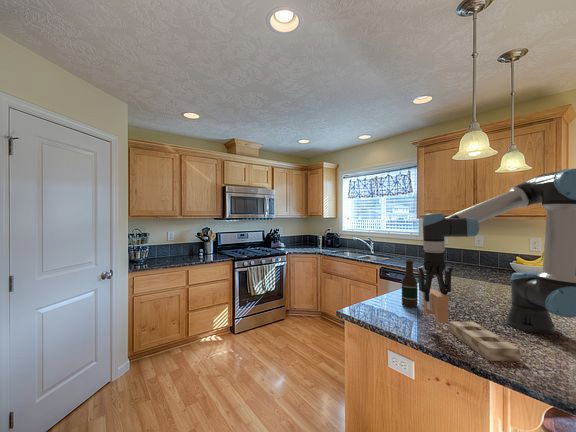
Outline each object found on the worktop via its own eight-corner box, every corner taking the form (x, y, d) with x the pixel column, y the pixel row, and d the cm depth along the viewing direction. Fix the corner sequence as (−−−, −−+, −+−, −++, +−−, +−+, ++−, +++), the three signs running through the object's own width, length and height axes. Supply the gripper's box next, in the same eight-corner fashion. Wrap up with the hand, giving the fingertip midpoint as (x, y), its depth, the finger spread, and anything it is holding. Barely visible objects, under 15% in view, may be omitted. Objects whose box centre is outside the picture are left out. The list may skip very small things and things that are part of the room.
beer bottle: (403, 302, 143) (403, 259, 143) (419, 305, 138) (419, 260, 139) (399, 306, 137) (399, 260, 137) (415, 309, 132) (415, 262, 132)
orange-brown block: (423, 311, 111) (422, 288, 111) (432, 311, 111) (432, 288, 111) (438, 323, 99) (437, 296, 99) (449, 323, 99) (448, 296, 99)
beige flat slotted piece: (474, 331, 106) (474, 321, 106) (520, 361, 84) (519, 348, 84) (449, 331, 107) (449, 321, 107) (488, 360, 85) (488, 348, 85)
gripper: (450, 250, 109) (451, 306, 108) (408, 250, 109) (409, 306, 109) (461, 252, 101) (462, 312, 101) (416, 252, 102) (418, 312, 102)
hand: (435, 309), depth 105 cm, fingers closed on orange-brown block, 4 cm apart
